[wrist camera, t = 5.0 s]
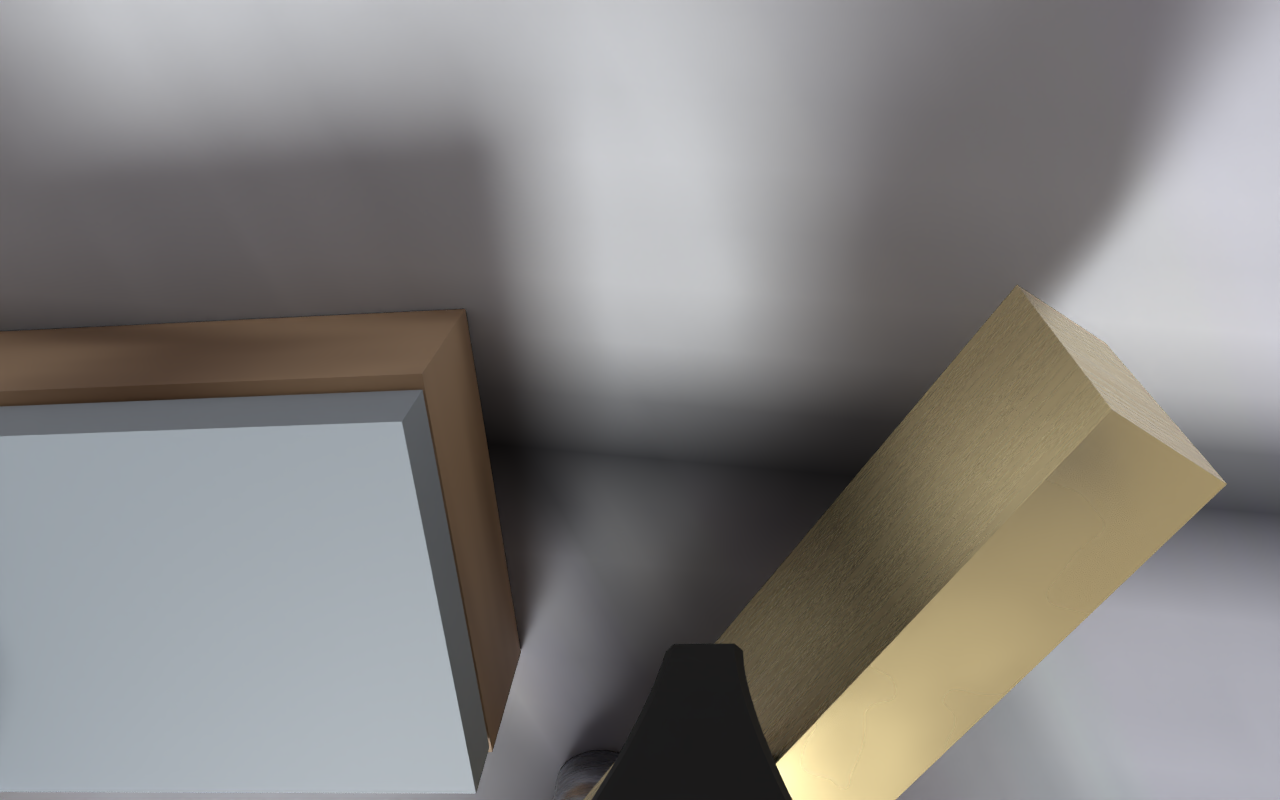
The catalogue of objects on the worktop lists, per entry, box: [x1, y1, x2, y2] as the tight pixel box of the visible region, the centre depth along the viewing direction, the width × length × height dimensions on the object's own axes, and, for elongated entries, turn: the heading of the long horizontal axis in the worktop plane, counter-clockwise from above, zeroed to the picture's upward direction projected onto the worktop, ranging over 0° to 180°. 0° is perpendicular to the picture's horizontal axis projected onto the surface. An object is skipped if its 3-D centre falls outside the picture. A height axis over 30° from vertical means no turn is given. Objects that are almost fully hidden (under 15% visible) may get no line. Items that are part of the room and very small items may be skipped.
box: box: [0, 309, 521, 752], centre depth 18 cm, size 10×7×3 cm
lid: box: [0, 390, 489, 794], centre depth 15 cm, size 10×7×4 cm, turn 95°
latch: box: [583, 285, 1226, 800], centre depth 15 cm, size 2×14×5 cm, turn 148°
